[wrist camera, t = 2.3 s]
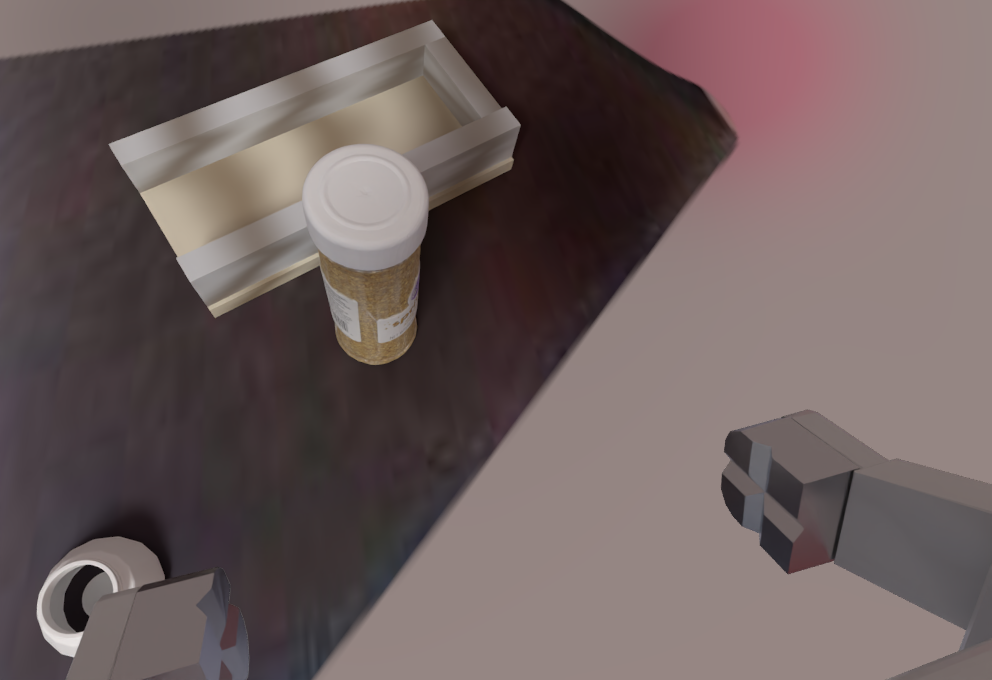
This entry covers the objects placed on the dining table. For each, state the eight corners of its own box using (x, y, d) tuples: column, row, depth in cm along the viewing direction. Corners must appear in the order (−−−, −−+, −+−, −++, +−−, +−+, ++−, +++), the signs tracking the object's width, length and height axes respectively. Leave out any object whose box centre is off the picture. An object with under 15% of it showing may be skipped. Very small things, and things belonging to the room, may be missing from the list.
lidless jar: (82, 525, 29) (25, 639, 27) (49, 521, 26) (-17, 647, 24) (186, 554, 29) (136, 669, 27) (164, 553, 26) (107, 680, 24)
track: (215, 317, 33) (192, 286, 29) (132, 180, 35) (102, 134, 31) (510, 169, 39) (523, 128, 36) (427, 60, 41) (430, 10, 38)
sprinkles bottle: (421, 362, 34) (437, 243, 22) (337, 370, 33) (303, 251, 21) (412, 287, 35) (422, 136, 23) (331, 293, 35) (296, 139, 22)
